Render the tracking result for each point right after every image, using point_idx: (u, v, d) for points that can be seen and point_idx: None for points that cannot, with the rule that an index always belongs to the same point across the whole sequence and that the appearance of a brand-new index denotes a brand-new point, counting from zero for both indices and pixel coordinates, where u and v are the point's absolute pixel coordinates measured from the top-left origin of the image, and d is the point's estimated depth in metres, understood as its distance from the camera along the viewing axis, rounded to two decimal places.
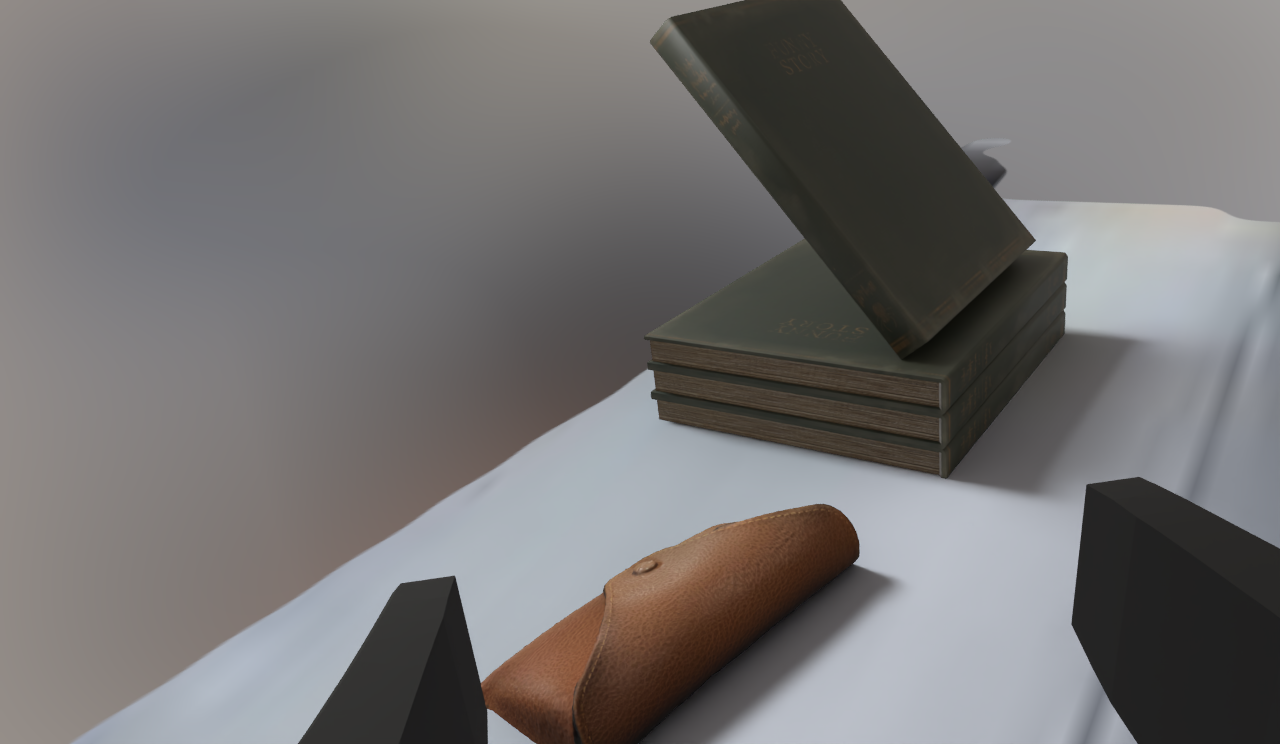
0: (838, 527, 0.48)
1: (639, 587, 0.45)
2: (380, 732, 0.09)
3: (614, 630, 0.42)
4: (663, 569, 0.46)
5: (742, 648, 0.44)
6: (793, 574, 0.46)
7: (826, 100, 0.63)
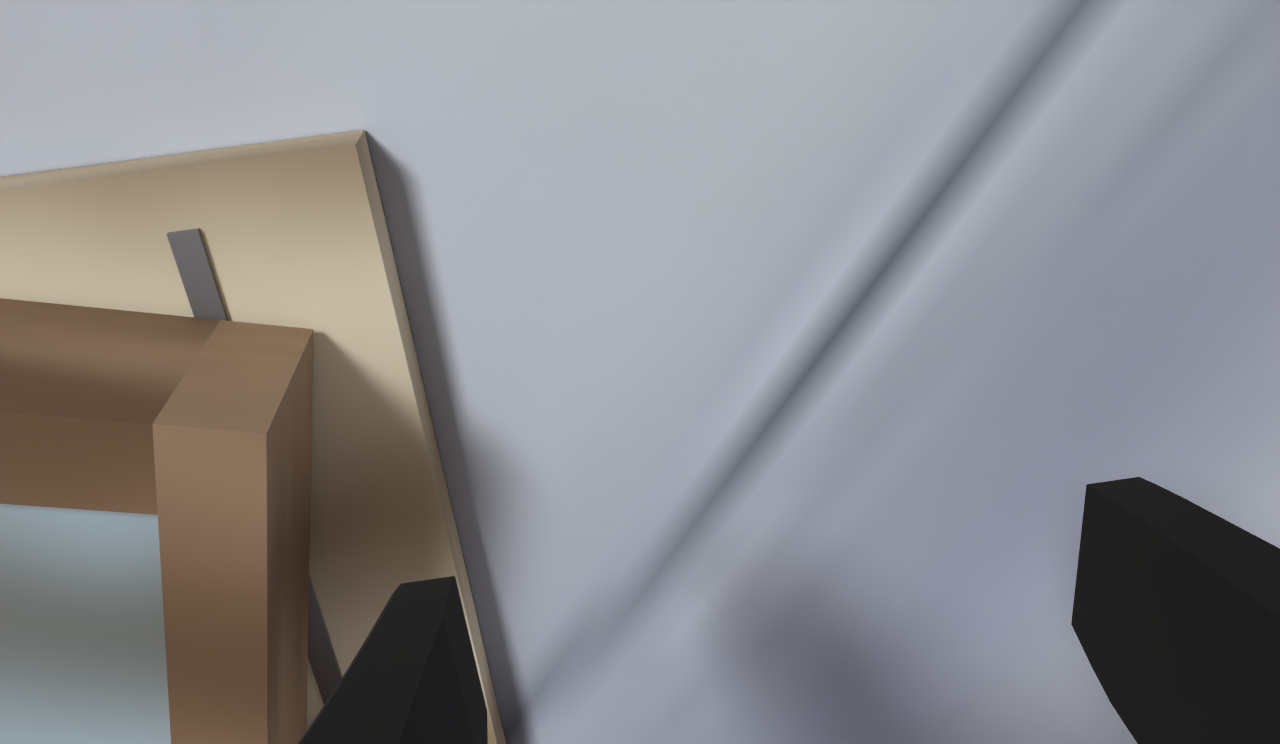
0: None
1: None
2: (380, 732, 0.09)
3: None
4: None
5: None
6: None
7: None
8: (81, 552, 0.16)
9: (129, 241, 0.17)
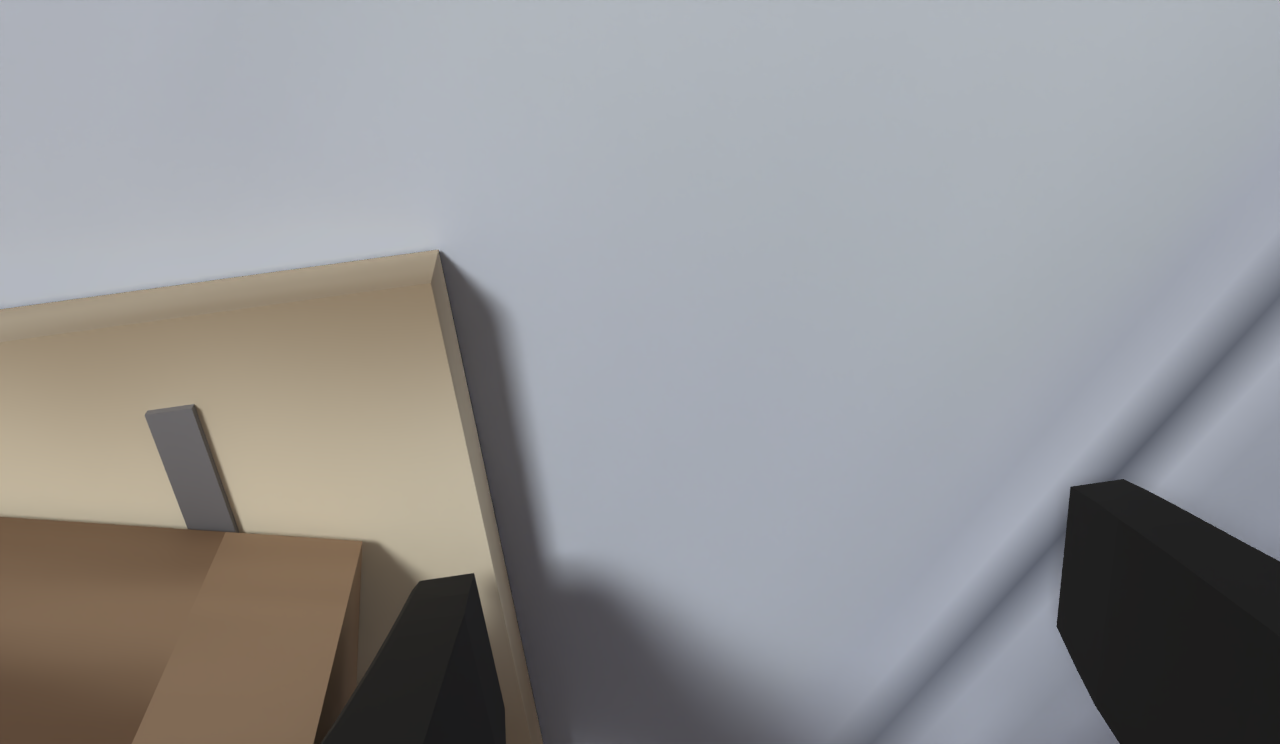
0: None
1: None
2: (405, 728, 0.09)
3: None
4: None
5: None
6: None
7: None
8: None
9: (89, 424, 0.11)
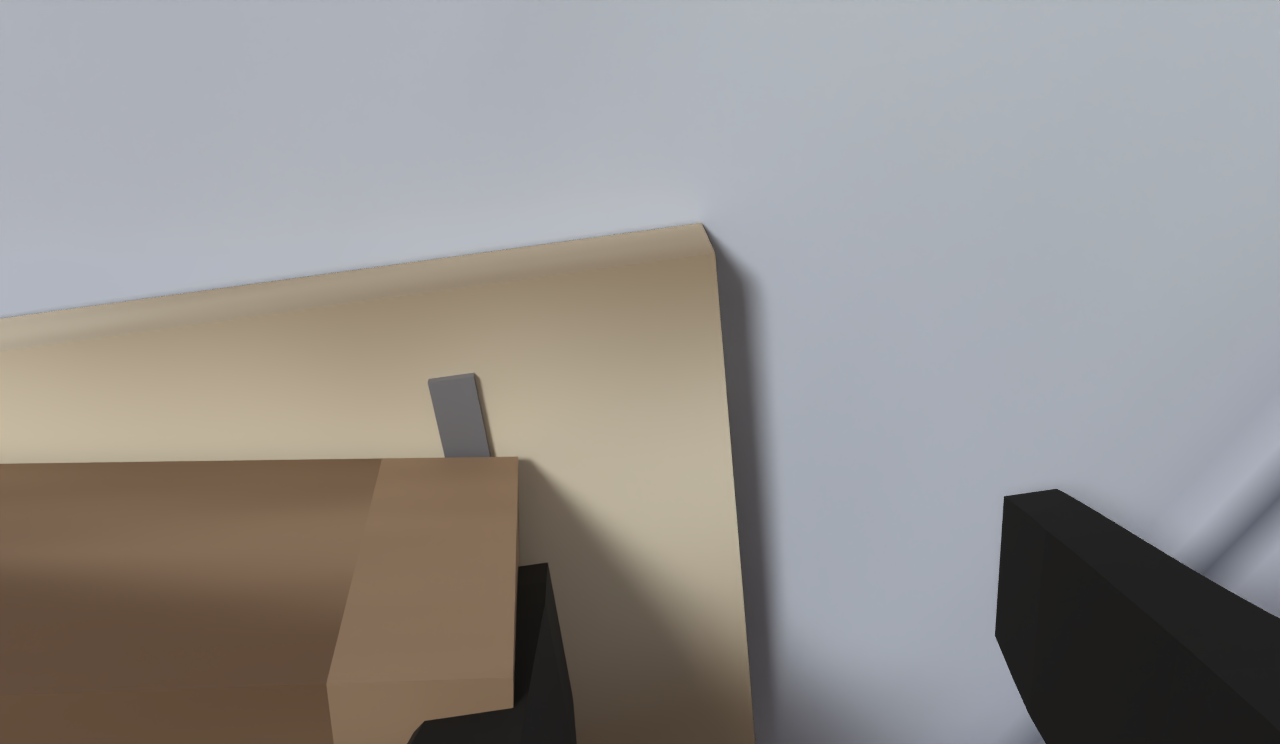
0: None
1: None
2: (502, 714, 0.09)
3: None
4: None
5: None
6: None
7: None
8: None
9: (370, 392, 0.11)
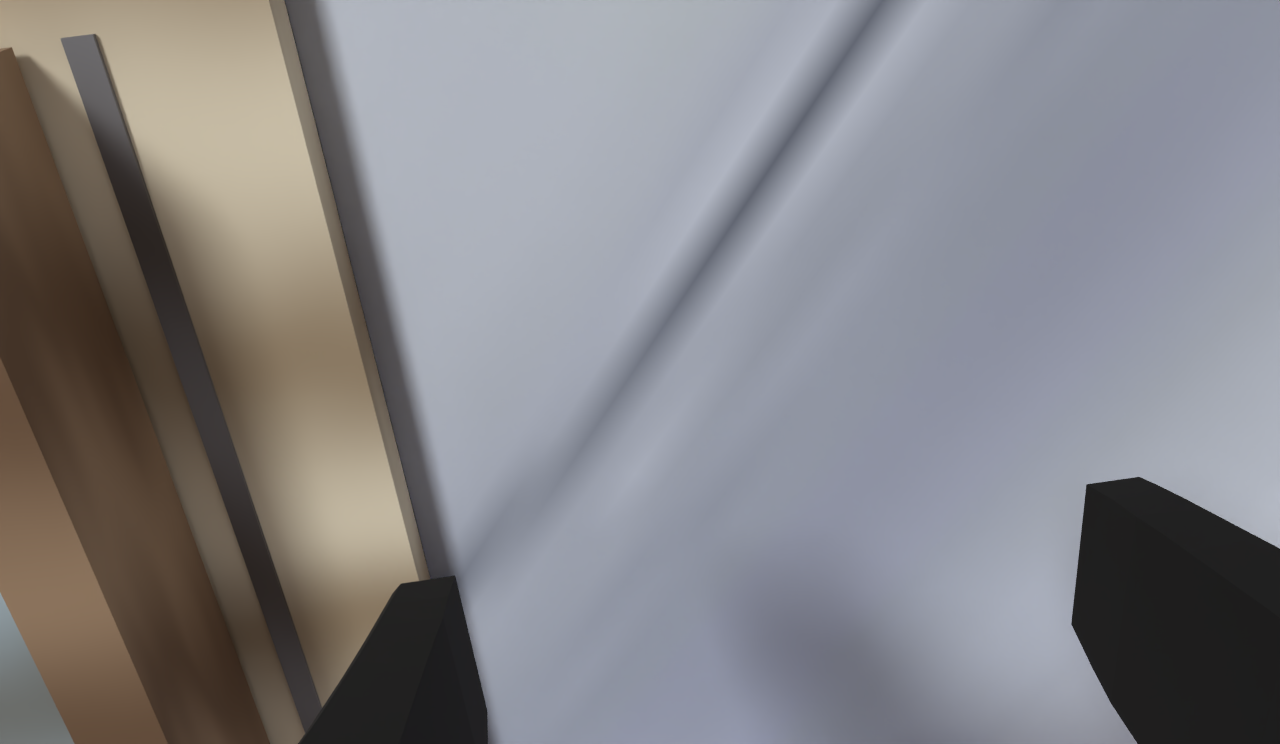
0: None
1: None
2: (380, 732, 0.09)
3: None
4: None
5: None
6: None
7: None
8: None
9: (22, 47, 0.16)
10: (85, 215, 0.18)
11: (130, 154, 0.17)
